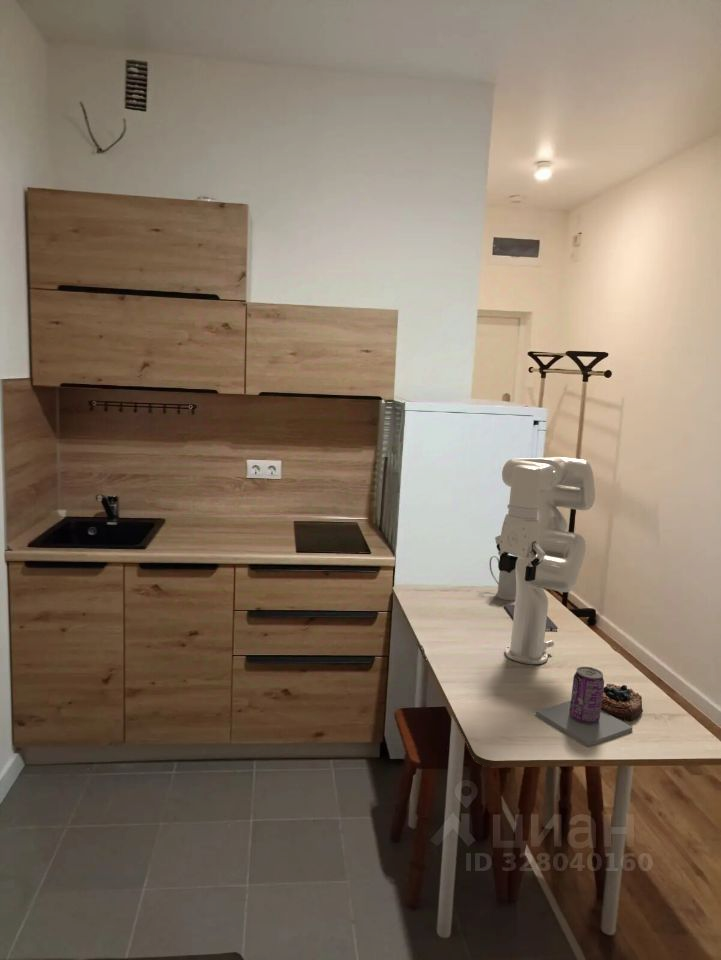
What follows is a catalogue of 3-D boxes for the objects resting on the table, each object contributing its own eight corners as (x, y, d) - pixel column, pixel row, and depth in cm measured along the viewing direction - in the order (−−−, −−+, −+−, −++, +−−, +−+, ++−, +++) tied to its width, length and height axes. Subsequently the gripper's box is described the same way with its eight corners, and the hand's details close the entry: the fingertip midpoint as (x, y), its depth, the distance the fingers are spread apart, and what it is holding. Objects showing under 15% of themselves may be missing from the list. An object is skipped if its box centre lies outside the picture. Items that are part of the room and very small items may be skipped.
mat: (579, 701, 177) (579, 697, 176) (632, 731, 163) (632, 727, 163) (535, 714, 168) (536, 711, 168) (587, 747, 155) (588, 743, 155)
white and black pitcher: (510, 601, 251) (514, 562, 249) (480, 590, 262) (483, 553, 259) (524, 597, 257) (528, 559, 255) (494, 587, 268) (497, 550, 265)
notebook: (503, 608, 245) (520, 631, 224) (504, 604, 245) (521, 626, 224) (537, 609, 246) (558, 632, 225) (538, 605, 246) (558, 628, 225)
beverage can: (576, 707, 171) (581, 663, 169) (603, 718, 166) (609, 672, 164) (564, 717, 166) (569, 671, 164) (592, 728, 161) (598, 681, 159)
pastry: (646, 709, 175) (649, 687, 174) (632, 726, 166) (635, 704, 165) (603, 694, 182) (606, 674, 181) (587, 710, 173) (590, 688, 172)
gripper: (489, 506, 183) (483, 567, 186) (537, 520, 168) (530, 586, 171) (510, 504, 187) (503, 564, 190) (558, 518, 172) (550, 583, 175)
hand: (516, 575), depth 180 cm, fingers open, 9 cm apart
